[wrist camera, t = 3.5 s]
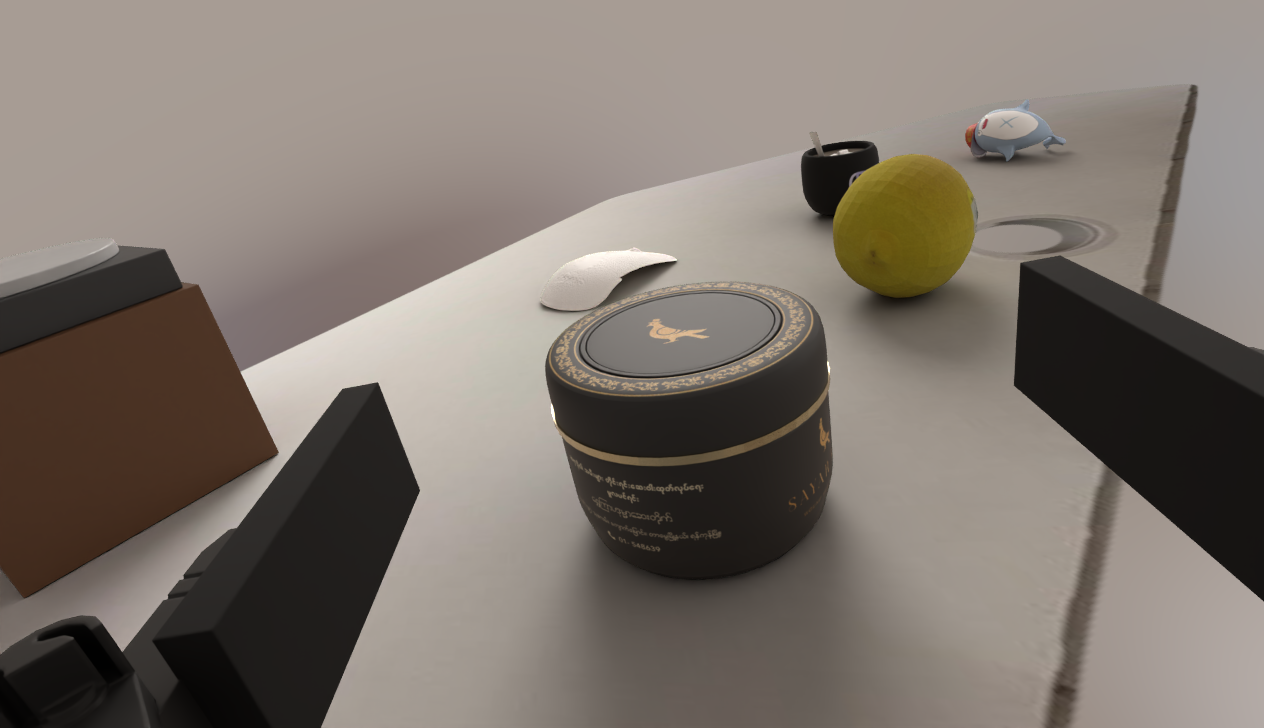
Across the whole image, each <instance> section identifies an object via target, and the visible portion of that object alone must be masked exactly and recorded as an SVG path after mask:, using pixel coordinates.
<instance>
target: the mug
mask: <svg viewBox="0 0 1264 728" xmlns="http://www.w3.org/2000/svg"><path fill="white" fill-rule="evenodd" d="M810 136H811V138H812V141H813V143H814V145H815V148H813V149H810V150H808V151H806V152H805V153H804V154H803V156H802V161H801V174H802V185H803V192H804V195H805V198H806V200H807V202H808V204H809V206H810V207H811V208H812V209H813V210H814V211H815V212H818V213H821V214H824V215H835V213H836V209H837V207H838V205H839V203H840V201H841V199H842V198H843V196H844V194H845V193H846V192H847V190H848V189H849V187H850V186H851V184H852V183H853V182H854V181H855V180H856V179H857V178H858V177H859V176H860V175H861V174H862V173H863V172H864V171H866V170H867V169H869V168H871V167H873V166H875V165H877V164H878V163H879V157H878V151H877V148H876V146H875V145H874V143H872V142H868V141H848V142H839V143H832V144H827V145H823V146H821V144H820V141H819V138H818V135H817V132H810Z"/></svg>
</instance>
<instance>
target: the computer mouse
mask: <svg viewBox="0 0 1264 728" xmlns="http://www.w3.org/2000/svg"><path fill="white" fill-rule="evenodd" d="M668 261H677V259H676V258H674V257H672V256H669V255H665V254H659V253H651V252H641V251H640V250H639V249H637V248H630V249H629V250H627V251H608V252H599V253H594V254H590V255H586V256H583V257H580V258H578V259H575V260H573V261H571V262H569V263H567V264H565V265H564V266H562V267H561V268H560V269H559V270H557V271H556V272H555V273H554V275H553V276H552V277H551V278H550V280H549V281H548V283H547V284H546V286H545V288H544V290H543V292H542V294H541V297H540V299H541V302H542V304H543V305H545V306H548V307H551V308H554V309H558V310H568V311H569V310H570V311H580V310H581V311H582V310H588V309H591V308H594V307H595V306H597V305H599V304H600V303H602V302H603V301H604V300H605V299H606V298H607V296H608V295H609V293H610V292H611V291H612V289H614V288H615V286H616V285H617V284H618V283H619V282H621V280H622V279H621V278H620V277H622V276H623V275H625V274H627V273H629V272H631V271H633V270H636V269H638V268H641V267H644V266H646V265H651V264H655V263H661V262H668Z"/></svg>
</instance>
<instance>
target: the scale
mask: <svg viewBox="0 0 1264 728" xmlns="http://www.w3.org/2000/svg"><path fill="white" fill-rule="evenodd" d="M277 453H279V452H278V450H277V448H276V446H275V444H274V441H273V439H272V437H271V435H270V433H269V431H268V429H267V427H266V425H265V423H264V421H263V418H262V416H261V414H260V412H259V410H258V408H257V406H256V404H255V402H254V400H253V398H252V396H251V393H250V391H249V389H248V387H247V385H246V383H245V381H244V379H243V377H242V375H241V373H240V371H239V368H238V366H237V364H236V362H235V360H234V358H233V356H232V354H231V352H230V350H229V348H228V345H227V343H226V341H225V339H224V337H223V335H222V333H221V331H220V329H219V327H218V325H217V323H216V320H215V318H214V316H213V314H212V312H211V310H210V308H209V306H208V304H207V302H206V299H205V297H204V295H203V293H202V291H201V289H200V287H199V285H197V284H190V283H183V282H181V281H180V279H179V277H178V275H177V273H176V271H175V269H174V267H173V265H172V263H171V261H170V259H169V257H168V255H167V253H166V251H165V249H156V248H142V247H128V246H117V244H116V242H115V241H114V240H113V239H111V238H99V239H90V240H83V241H77V242H72V243H67V244H62V245H57V246H52V247H48V248H43V249H39V250H35V251H30V252H26V253H22V254H18V255H14V256H10V257H7V258H2V259H0V569H1V570H2V571H3V572H4V574H5V575H6V576H7V577H8V579H9V580H10V581H11V582H12V584H13V585H14V586H15V587H16V589H17V590H18V591H19V592H20V594H21V595H22V596H23V597H24V598H25V597H27V596H29V595H31V594H33V593H34V592H36V591H38V590H40V589H41V588H43V587H45V586H47V585H48V584H50V583H52V582H54V581H55V580H57V579H59V578H61V577H62V576H64V575H66V574H68V573H69V572H71V571H73V570H75V569H76V568H78V567H80V566H82V565H83V564H85V563H87V562H89V561H90V560H92V559H94V558H96V557H97V556H99V555H101V554H103V553H104V552H106V551H108V550H110V549H111V548H113V547H115V546H117V545H118V544H120V543H122V542H124V541H125V540H127V539H129V538H131V537H132V536H134V535H136V534H138V533H139V532H141V531H143V530H145V529H146V528H148V527H150V526H152V525H153V524H155V523H157V522H159V521H160V520H162V519H164V518H166V517H167V516H169V515H171V514H173V513H174V512H176V511H178V510H180V509H181V508H183V507H185V506H186V505H188V504H190V503H192V502H193V501H195V500H197V499H199V498H200V497H202V496H204V495H206V494H207V493H209V492H211V491H213V490H214V489H216V488H218V487H220V486H221V485H223V484H225V483H227V482H228V481H230V480H232V479H234V478H235V477H237V476H239V475H241V474H242V473H244V472H246V471H248V470H249V469H251V468H253V467H255V466H256V465H258V464H260V463H262V462H263V461H265V460H267V459H269V458H270V457H272V456H274V455H276V454H277Z"/></svg>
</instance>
